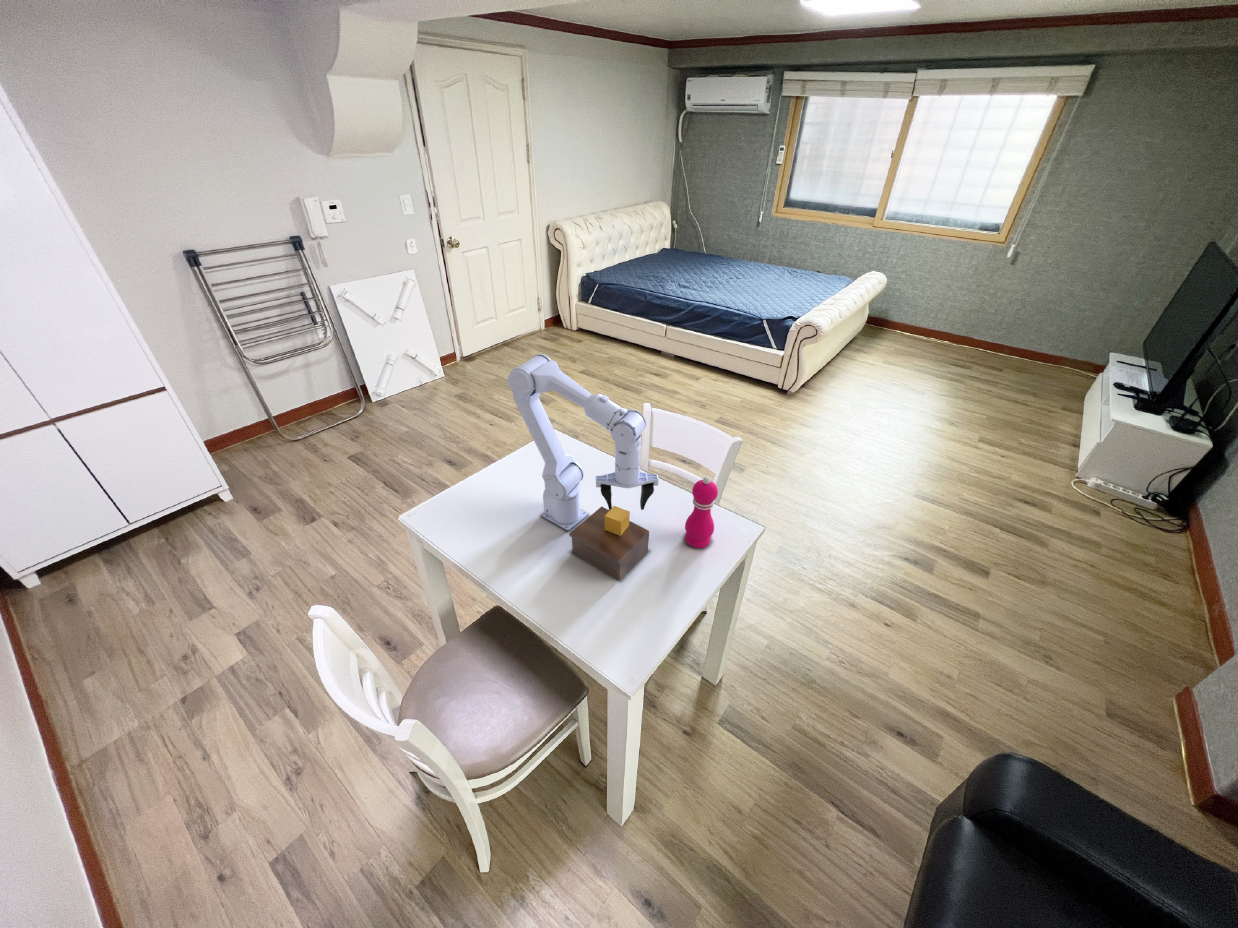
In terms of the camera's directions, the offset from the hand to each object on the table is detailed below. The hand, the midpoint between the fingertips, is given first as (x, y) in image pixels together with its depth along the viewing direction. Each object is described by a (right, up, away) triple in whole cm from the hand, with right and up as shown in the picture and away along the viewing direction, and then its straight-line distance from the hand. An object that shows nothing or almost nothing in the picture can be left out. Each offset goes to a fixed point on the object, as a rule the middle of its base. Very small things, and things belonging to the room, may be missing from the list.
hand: (626, 507), depth 119 cm
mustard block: (-2, -5, -1) cm, 5 cm away
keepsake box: (-4, -11, +2) cm, 12 cm away
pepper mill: (+18, -9, +6) cm, 21 cm away
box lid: (-4, -6, -2) cm, 8 cm away
